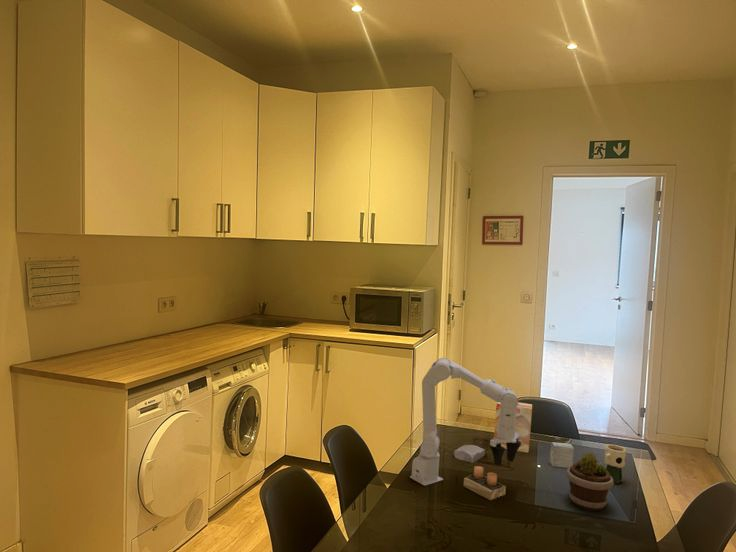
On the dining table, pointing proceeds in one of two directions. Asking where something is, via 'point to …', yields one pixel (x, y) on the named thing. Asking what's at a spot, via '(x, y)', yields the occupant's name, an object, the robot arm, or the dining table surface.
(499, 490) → the socket block
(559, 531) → the dining table surface
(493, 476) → the peg
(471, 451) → the stone block
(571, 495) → the flowerpot
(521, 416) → the coffeecake box
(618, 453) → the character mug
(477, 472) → the peg
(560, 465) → the medicine box
